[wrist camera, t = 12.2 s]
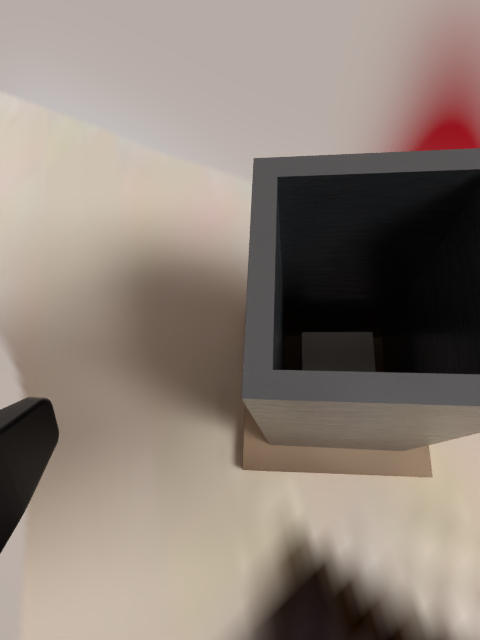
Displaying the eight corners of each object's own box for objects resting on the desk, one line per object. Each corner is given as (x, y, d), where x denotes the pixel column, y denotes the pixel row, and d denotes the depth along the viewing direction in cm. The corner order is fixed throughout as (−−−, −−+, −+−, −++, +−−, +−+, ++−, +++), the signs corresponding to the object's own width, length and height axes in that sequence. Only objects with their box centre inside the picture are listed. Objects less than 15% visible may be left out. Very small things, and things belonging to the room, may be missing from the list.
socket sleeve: (403, 451, 18) (574, 409, 7) (270, 444, 19) (241, 398, 8) (393, 326, 21) (512, 146, 9) (273, 325, 21) (254, 158, 10)
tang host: (424, 477, 19) (458, 477, 15) (245, 470, 20) (234, 468, 16) (404, 310, 22) (430, 275, 18) (250, 311, 23) (242, 277, 19)
